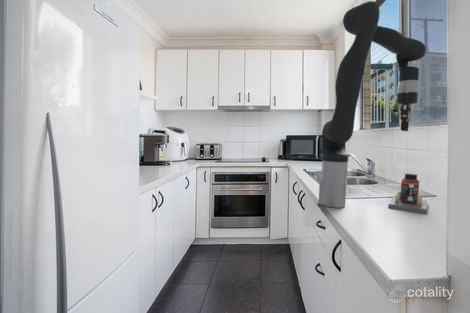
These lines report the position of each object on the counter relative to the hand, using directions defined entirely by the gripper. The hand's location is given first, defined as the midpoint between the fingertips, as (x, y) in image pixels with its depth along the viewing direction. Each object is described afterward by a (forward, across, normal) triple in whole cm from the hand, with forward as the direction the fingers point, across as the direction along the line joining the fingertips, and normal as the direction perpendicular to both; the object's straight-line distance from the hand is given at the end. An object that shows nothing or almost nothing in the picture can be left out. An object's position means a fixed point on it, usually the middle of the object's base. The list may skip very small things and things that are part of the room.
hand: (404, 130), depth 117 cm
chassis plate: (+30, +10, +4) cm, 32 cm away
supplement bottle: (+29, +10, +4) cm, 31 cm away
